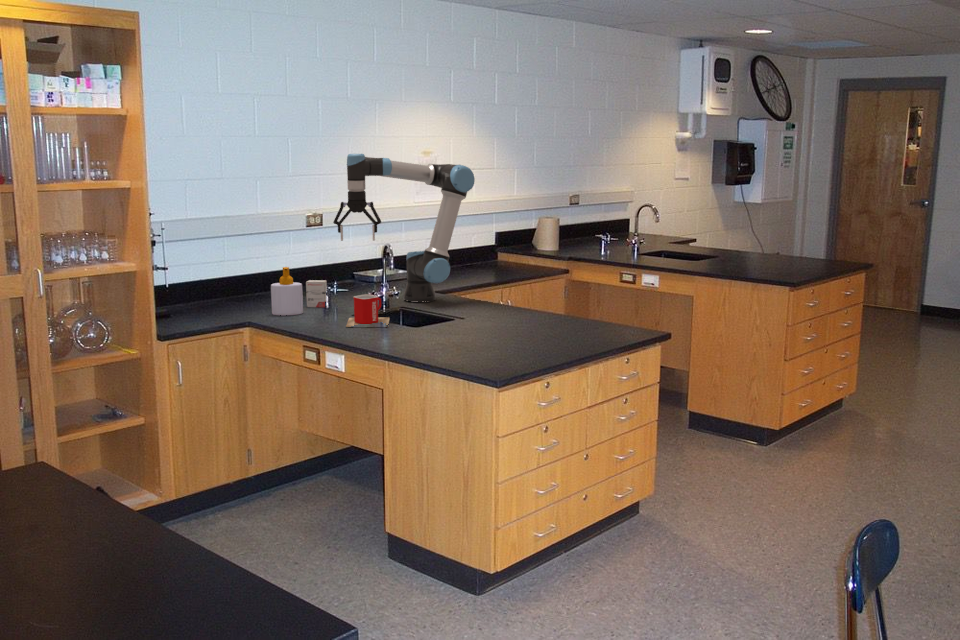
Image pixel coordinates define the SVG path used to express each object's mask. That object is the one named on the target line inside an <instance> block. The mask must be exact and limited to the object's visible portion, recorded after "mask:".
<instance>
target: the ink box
mask: <svg viewBox="0 0 960 640" xmlns="http://www.w3.org/2000/svg"><path fill="white" fill-rule="evenodd" d="M327 282H328V281H327V280H326V279H325V280H323V279H321V280H316V279H315V280H313V279H312V280H311V279H309V280H307V281H306V282H305V290H306V291H305V293H306V294H305V295H306V307H307V308H326V307H325V302H326V291H327V292H328V289H327V288H328V286H327V285H328V284H327Z"/></svg>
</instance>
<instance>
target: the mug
mask: <svg viewBox="0 0 960 640" xmlns="http://www.w3.org/2000/svg"><path fill="white" fill-rule="evenodd" d="M381 307H382V298H381V297H379V296H377V295H373V294H359V295H354V296H353V311H354V312H353V314H354V316H353V318H354V322H355V323H359V324H372V323H377V322H378V317H379V310H380V309H381Z"/></svg>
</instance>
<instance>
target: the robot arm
mask: <svg viewBox="0 0 960 640" xmlns="http://www.w3.org/2000/svg"><path fill="white" fill-rule="evenodd" d="M346 172H347V174H346V175H347V180H346V181H347V190H348V191H347V202H344V201H341V202H340V207H339V209H338V211H337V214H336V215H335V217H334V220H333V224H334V225H337V232H338V233H339V234H340V241H344V231H343V229H344V227H343V226H344V225H343V224H342V223H343V222H344V221H345V220H346V218H348V216H349V215H350V214H351V213H359V214H360V213H363V214H364V215H365V216H366V217H367V218H368V219H369V220H370V222H371V223H372V228H371V229H372V241H375V240H376V236H375V235H376V233H378V225H379V224H380V225H381V224H382V220H381V218H380V216H379V214H378V212H377V211H376V208H375V206H374V201H369V202H367V199H366V198H367V197H366V196H367V195H366V194H367V193H366V177H384V178H389V179H390V178H391V179H398V180H399V179H400V180H405V181H413V182H421V183H425V185H427V186H434V187H437V188H440V189H441V190H440V192H441V194H442V199H441V202H440V206H439V208H438V209H439V210H438V213H437V217H436V221H435V225H434V227H433V232H432V236H431V239H430V244H429V246H428V247H427V248H425V249H424V250H416V251H409V252H407V253H406V260H405V261H406V286H405V288H404V293H403V298H402V300H403V299H405V300H408V301H418V302H422V301H424V302H425V301H426V302H425V303H428V302H427V301H432V302H435V301H437V299H436V298H437V295H436V292H435V289H434V286H433V284H441V283H442V282H444V281H446V279H448V277H449V276H450V274H451V273H450V272H451V264H450V262H449V259H450V254H449V253H448V251H449V247H450V244H451V240H452V236H453V233H454V229H455V225H456V222H457V218H458V215H459V211H460V207H461V203H462V201H463V200H464V199H466V198H467V195H468V192H469V191H471V190H472V189H473V188H474V186H475V181H476V180H475V179H476V178H475V174H474V172H473V171H472V169H471V168H470V167H469V166H466V165H462V164H452V163H451V164H450V163H447V164H446V163H445V164H433V163H428V164H427V165H425V164H424V165H423V164H418V163H412V162H405V161H404V162H403V161H397V160H391V159H390V158H388V157H370V156H369V157H368V156H366V155H365V153H349V154H347V156H346ZM346 206H347V207H348V208H349V209H348V210H347V211H346V212H345V214H344V215H343V217H342V218H341V219H340V216H341V215H342V212H343V210H344V208H345V207H346ZM367 206H368V207H369V208H370V209H371V212H372V213H373V216H374V217H375V218H374V217H373V216H372V215H371V214H370V213H369V212H368V210H367V209H366V208H367ZM434 300H435V301H434Z"/></svg>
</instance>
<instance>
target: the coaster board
mask: <svg viewBox="0 0 960 640" xmlns="http://www.w3.org/2000/svg"><path fill="white" fill-rule="evenodd" d="M390 319H391V318H390V316H388V317H387V316H386V317H384V316H383V317H379V316H378V322H379V323H380V322H383V324H384V323H386V325H388V324H390ZM378 322H377V323H378ZM358 324H359V323H355V322H354V317H348V320H347V322H346V325H345V328H346V327H351V326H354V325H358ZM388 326H389V325H388Z"/></svg>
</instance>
